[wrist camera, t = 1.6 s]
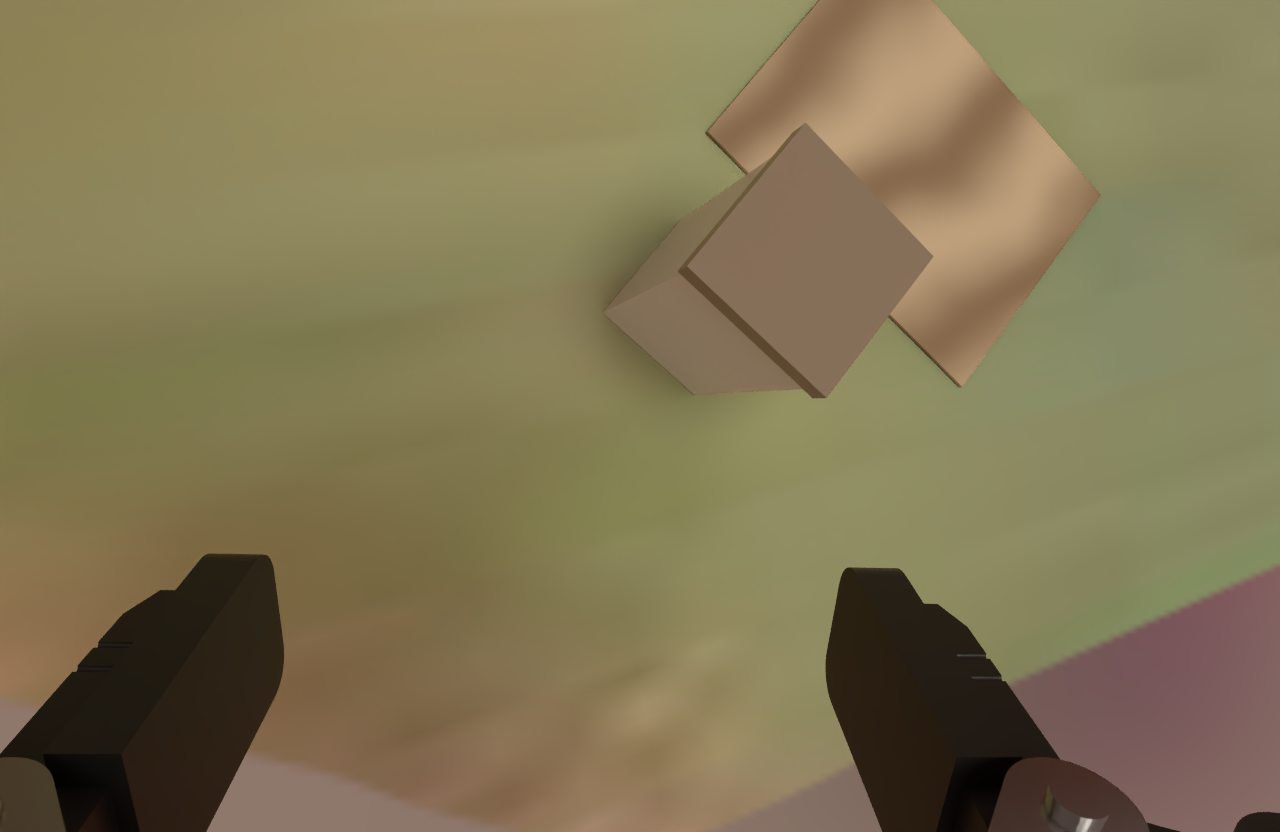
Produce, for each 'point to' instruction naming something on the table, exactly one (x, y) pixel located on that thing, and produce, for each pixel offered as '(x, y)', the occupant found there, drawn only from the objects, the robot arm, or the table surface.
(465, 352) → the table surface
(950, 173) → the mat
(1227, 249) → the table surface
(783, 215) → the canister
